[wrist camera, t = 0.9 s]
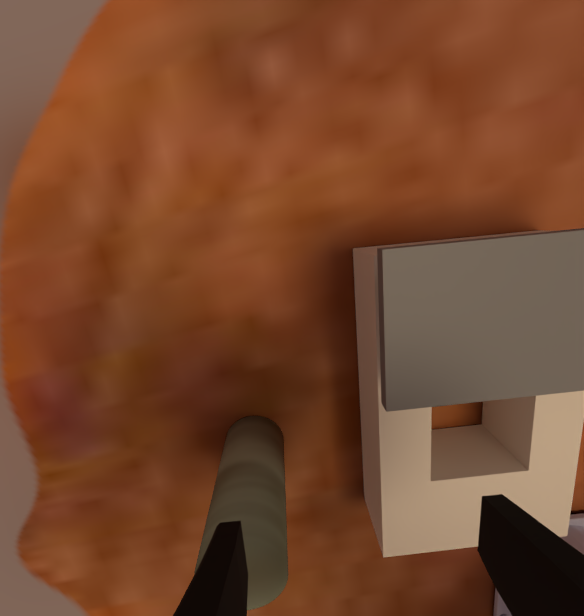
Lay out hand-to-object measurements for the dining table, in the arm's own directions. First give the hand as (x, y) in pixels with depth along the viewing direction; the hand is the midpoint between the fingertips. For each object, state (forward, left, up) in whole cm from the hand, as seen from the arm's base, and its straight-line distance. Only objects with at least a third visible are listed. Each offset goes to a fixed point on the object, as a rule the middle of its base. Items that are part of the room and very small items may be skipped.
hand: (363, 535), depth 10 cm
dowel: (-4, +4, -10) cm, 11 cm away
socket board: (-1, -7, -10) cm, 12 cm away
